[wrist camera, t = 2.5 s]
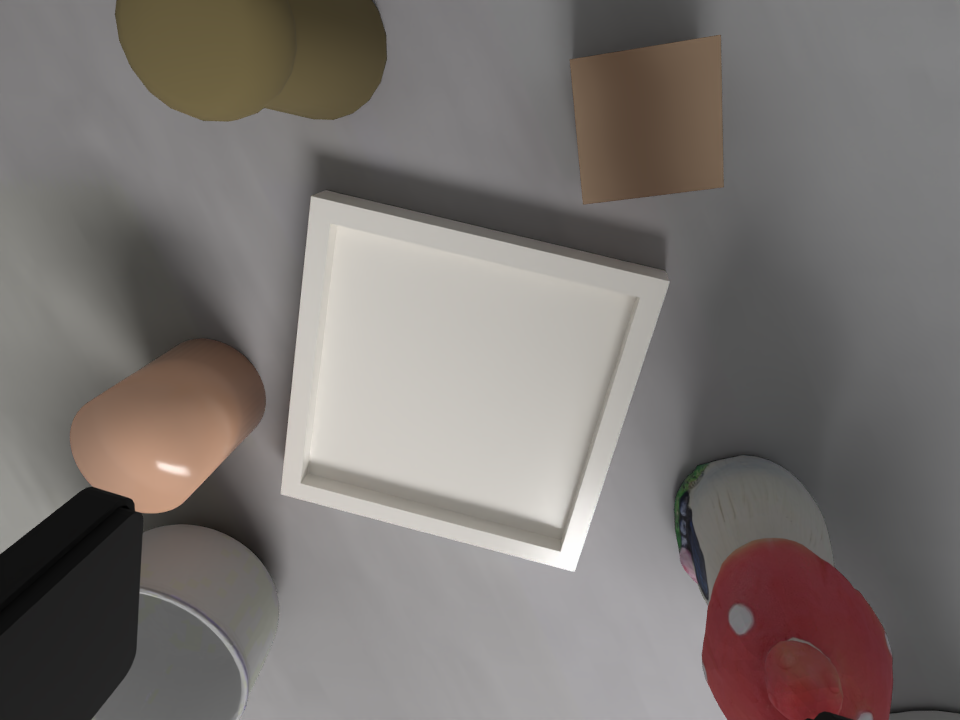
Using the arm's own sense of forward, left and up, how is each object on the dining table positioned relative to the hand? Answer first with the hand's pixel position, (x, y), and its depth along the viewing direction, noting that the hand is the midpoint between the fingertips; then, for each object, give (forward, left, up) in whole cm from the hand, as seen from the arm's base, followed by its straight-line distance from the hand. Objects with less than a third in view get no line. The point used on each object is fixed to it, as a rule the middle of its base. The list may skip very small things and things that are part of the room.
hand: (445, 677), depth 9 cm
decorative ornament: (-12, +10, -24) cm, 29 cm away
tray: (+3, +7, -24) cm, 25 cm away
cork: (+12, -7, -24) cm, 28 cm away
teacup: (+15, +25, -24) cm, 38 cm away
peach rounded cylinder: (+16, +11, -24) cm, 31 cm away
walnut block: (-2, -7, -24) cm, 25 cm away
